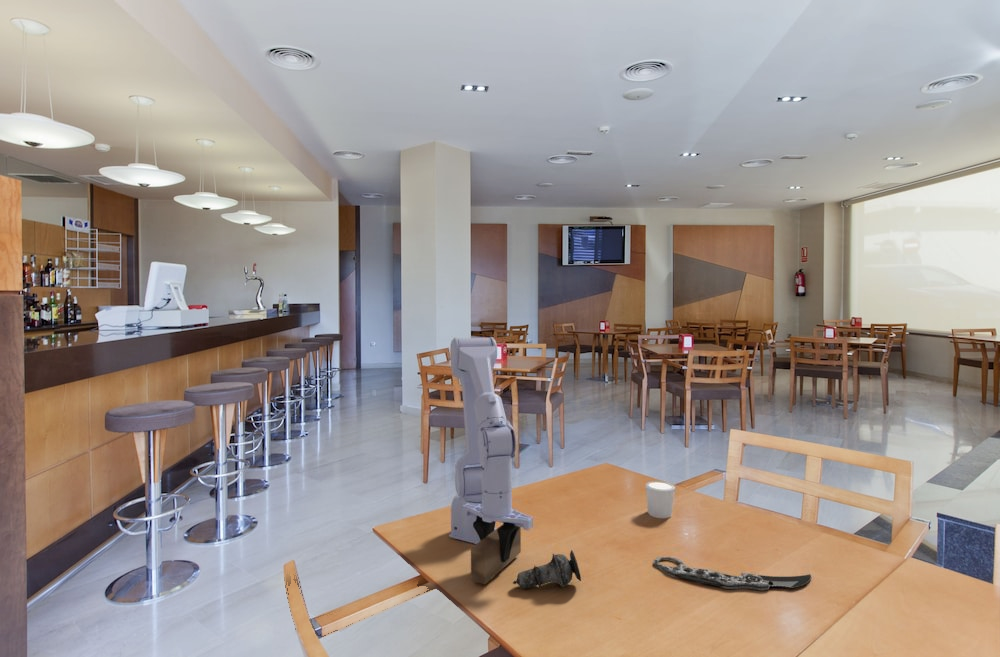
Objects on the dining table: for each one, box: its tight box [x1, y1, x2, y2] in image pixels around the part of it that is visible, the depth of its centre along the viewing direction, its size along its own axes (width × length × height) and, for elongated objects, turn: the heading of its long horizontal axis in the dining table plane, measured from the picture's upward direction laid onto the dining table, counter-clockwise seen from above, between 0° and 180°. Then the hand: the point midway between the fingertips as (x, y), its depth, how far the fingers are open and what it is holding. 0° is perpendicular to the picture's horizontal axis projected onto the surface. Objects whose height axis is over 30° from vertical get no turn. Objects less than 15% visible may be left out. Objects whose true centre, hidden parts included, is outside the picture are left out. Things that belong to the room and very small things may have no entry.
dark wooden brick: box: [470, 523, 522, 585], centre depth 103 cm, size 3×14×6 cm, turn 150°
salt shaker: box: [512, 549, 582, 590], centre depth 97 cm, size 6×6×12 cm
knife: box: [653, 556, 812, 592], centre depth 100 cm, size 28×2×10 cm
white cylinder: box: [645, 480, 676, 519], centre depth 130 cm, size 7×7×7 cm
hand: (497, 557), depth 103 cm, fingers closed on dark wooden brick, 3 cm apart
